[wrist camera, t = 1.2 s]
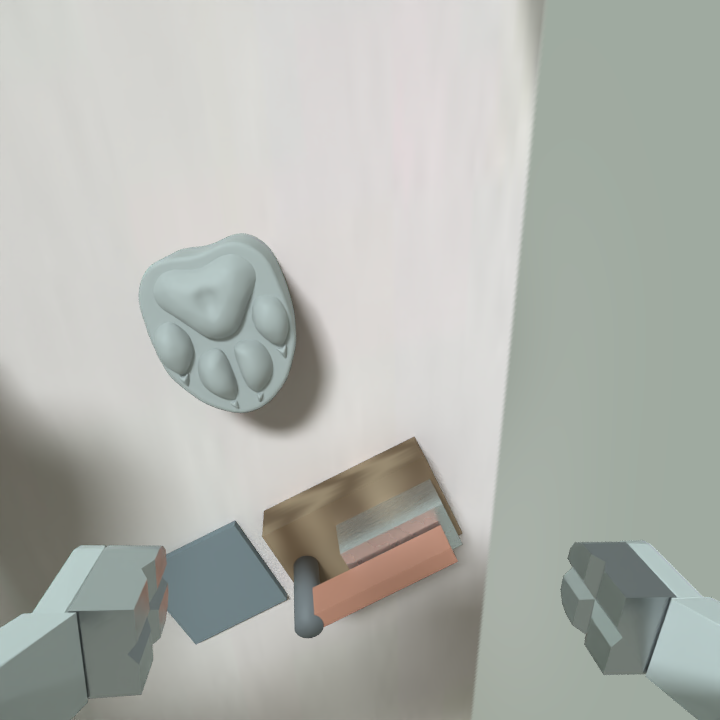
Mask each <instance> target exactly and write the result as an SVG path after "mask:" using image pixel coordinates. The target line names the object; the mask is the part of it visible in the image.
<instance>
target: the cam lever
mask: <svg viewBox="0 0 720 720" xmlns="http://www.w3.org/2000/svg"><path fill="white" fill-rule="evenodd" d="M456 562H458V561H457V559H456V556H455V554H454V552H453V550H452V548H451V546H450V544H449V541H448V539H447V537H446V535H445V533H444V531H443V529H442V527H441V525H439V526H437V527H435V528H433V529H431V530H429V531H427V532H425V533H423V534H421V535H419V536H417V537H415V538H413V539H411V540H409V541H407V542H405V543H403V544H401V545H399V546H397V547H395V548H393V549H391V550H389V551H387V552H385V553H382V554H380V555H378V556H376V557H374V558H372V559H370V560H368V561H366V562H364V563H362V564H360V565H358V566H356V567H354V568H352V569H350V570H348V571H346V572H344V573H342V574H340V575H338V576H336V577H334V578H332V579H330V580H328V581H326V582H323V583H321V584H320V578H319V566H318V561H317V560H316V559H315V558H314V557H312V556H302V557H300V558H298V559H297V560H296V561H295V563H294V566H293V568H294V619H295V632H296V633H297V635H299V636H300V637H303V638H312V637H315V636H317V635H319V634H320V633H321V632H322V630H323V627H325V626H327V625H329V624H331V623H333V622H335V621H337V620H339V619H341V618H343V617H346V616H348V615H350V614H352V613H354V612H356V611H358V610H360V609H362V608H364V607H366V606H368V605H370V604H372V603H374V602H376V601H378V600H380V599H382V598H384V597H386V596H388V595H390V594H393V593H395V592H397V591H399V590H401V589H403V588H405V587H407V586H409V585H411V584H413V583H415V582H417V581H419V580H421V579H423V578H425V577H427V576H429V575H431V574H433V573H435V572H437V571H439V570H442V569H444V568H446V567H448V566H450V565H452V564H454V563H456Z"/></svg>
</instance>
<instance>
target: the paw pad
mask: <svg viewBox="0 0 720 720" xmlns="http://www.w3.org/2000/svg"><path fill="white" fill-rule="evenodd" d="M139 304H140V309H141V312H142V316H143V319H144V322H145V325H146V328H147V332H148V334H149V337H150V339H151V342H152V344H153V346H154V348H155V350H156V353H157V355H158V357H159V359H160V361H161V362H162V364H163V366H164V368H165V370H166V371H167V373H168V374H169V375H170V377H171V378H172V379H173V380H174V381H175V382H177V383H178V384H179V385H180V386H181V387H182V388H184V389H185V390H186V391H188V392H189V393H190V394H192V395H193V396H194V397H196V398H197V399H199V400H200V401H202V402H204V403H206V404H208V405H210V406H213V407H215V408H218V409H222V410H225V411H230V412H235V413H246V412H250V411H254V410H256V409H259V408H261V407H262V406H264V405H266V404H267V403H268V402H270V401H271V400H272V399H273V398H274V396H275V395H276V394H277V393H278V392H279V390H280V389H281V387H282V386H283V385H284V383H285V381H286V379H287V377H288V374H289V371H290V368H291V365H292V361H293V357H294V352H295V346H296V327H295V314H294V309H293V304H292V300H291V297H290V293H289V290H288V287H287V283H286V281H285V278H284V276H283V273H282V271H281V269H280V266H279V264H278V262H277V259H276V257H275V256H274V254H273V252H272V251H271V249H270V248H269V247H268V246H267V245H266V244H265V243H264V242H263V241H261V240H260V239H258V238H257V237H255V236H252V235H249V234H244V233H240V234H234V235H231V236H228V237H226V238H224V239H222V240H220V241H218V242H216V243H213V244H210V245H206V246H200V247H191V248H185V249H181V250H178V251H176V252H174V253H172V254H171V255H169V256H167V257H165V258H163V259H161V260H159V261H157V262H155V263H154V264H152V265H151V266H150V267H149V268H148V269H147V270H146V272H145V274H144V275H143V278H142V280H141V284H140V287H139Z"/></svg>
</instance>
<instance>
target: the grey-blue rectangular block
mask: <svg viewBox="0 0 720 720" xmlns="http://www.w3.org/2000/svg"><path fill="white" fill-rule="evenodd" d="M439 525H441V527H442V529H443V531H444V533H445V535H446V537H447V539H448V541H449V544H450V546H451V548H452V549H454V548H456V547H458V546H460V545H462V542H461V540H460V538H459V536H458V534H457V532H456V530H455V528H454V526H453V524H452V522H451V520H450V518H449V516H448V514H447V512H446V510H445V508H444V506H443V504H442V502H441V500H440V498H439V496H438V494H437V492H436V490H435V488H434V486H433V484H432V482H431V480H430V479H429V480H427V481H425V482H423V483H421V484H419V485H417V486H415V487H413V488H411V489H409V490H407V491H405V492H403V493H401V494H399V495H397V496H395V497H393V498H391V499H389V500H387V501H385V502H382V503H380V504H378V505H376V506H374V507H372V508H370V509H368V510H366V511H364V512H362V513H360V514H358V515H356V516H354V517H352V518H350V519H348V520H346V521H344V522H342V523H340V524H338V525H336V530H337V536H338V543H339V550H340V555H341V556H342V558H343V559H344V561H345V563H346V564H347V566H348V567H349V569H352V568H354V567H356V566H358V565H360V564H362V563H364V562H366V561H368V560H370V559H372V558H374V557H376V556H378V555H380V554H382V553H385V552H387V551H389V550H391V549H393V548H395V547H397V546H399V545H401V544H403V543H405V542H407V541H409V540H411V539H413V538H415V537H417V536H419V535H421V534H423V533H425V532H427V531H429V530H431V529H433V528H435V527H437V526H439Z"/></svg>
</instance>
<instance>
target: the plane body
mask: <svg viewBox="0 0 720 720" xmlns="http://www.w3.org/2000/svg"><path fill="white" fill-rule="evenodd" d="M429 479H430V480H431V482H432V484H433V486H434V488H435V490H436V492H437V494H438V496H439V498H440V500H441V502H442V504H443V506H444V508H445V510H446V512H447V514H448V516H449V518H450V520H451V522H452V524H453V526H454V528H455V530H456V532H457V534H458V535H460V534H462V531H461V529H460V527H459V525H458V523H457V521H456V519H455V517H454V515H453V513H452V511H451V509H450V507H449V505H448V503H447V501H446V499H445V497H444V495H443V493H442V491H441V489H440V487H439V485H438V482H437V480H436V478H435V476H434V474H433V472H432V470H431V468H430V466H429V464H428V462H427V460H426V458H425V456H424V454H423V452H422V450H421V449H420V447H419V445H418V443H417V441H416V439H415V437H413V438H411V439H409V440H407V441H405V442H403V443H401V444H399V445H397V446H395V447H393V448H390V449H388V450H386V451H384V452H382V453H380V454H378V455H376V456H374V457H372V458H370V459H368V460H366V461H364V462H362V463H360V464H358V465H356V466H354V467H352V468H350V469H348V470H346V471H344V472H342V473H340V474H338V475H336V476H334V477H332V478H330V479H328V480H326V481H324V482H322V483H320V484H318V485H316V486H314V487H312V488H310V489H308V490H306V491H304V492H302V493H300V494H298V495H296V496H294V497H292V498H290V499H288V500H285V501H283V502H281V503H279V504H277V505H275V506H273V507H271V508H269V509H267V510H265V511H264V519H263V533H262V537H263V539H264V540H265V542H266V543H267V544H268V546H269V547H270V549H271V550H272V552H273V553H274V555H275V556H276V557H277V559H278V560H279V562H280V563H281V565H282V566H283V568H284V569H285V571H286V572H287V573H288V575H289V576H290V578H291V579H292V581H293V582H294V568H293V566H294V563H295V561H296V560H297V559H298V558H300V557H302V556H312V557H314V558H315V559H316V560H317V561H318V566H319V578H320V584H321V583H323V582H326V581H328V580H330V579H332V578H334V577H336V576H338V575H340V574H342V573H344V572H346V571H348V570H350V569H349V567H348V566H347V564H346V563H345V561H344V559H343V558H342V556H341V555H340V550H339V543H338V536H337V530H336V525H338V524H340V523H342V522H344V521H346V520H348V519H350V518H352V517H354V516H356V515H358V514H360V513H362V512H364V511H366V510H368V509H370V508H372V507H374V506H376V505H378V504H380V503H382V502H385V501H387V500H389V499H391V498H393V497H395V496H397V495H399V494H401V493H403V492H405V491H407V490H409V489H411V488H413V487H415V486H417V485H419V484H421V483H423V482H425V481H427V480H429Z"/></svg>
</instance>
